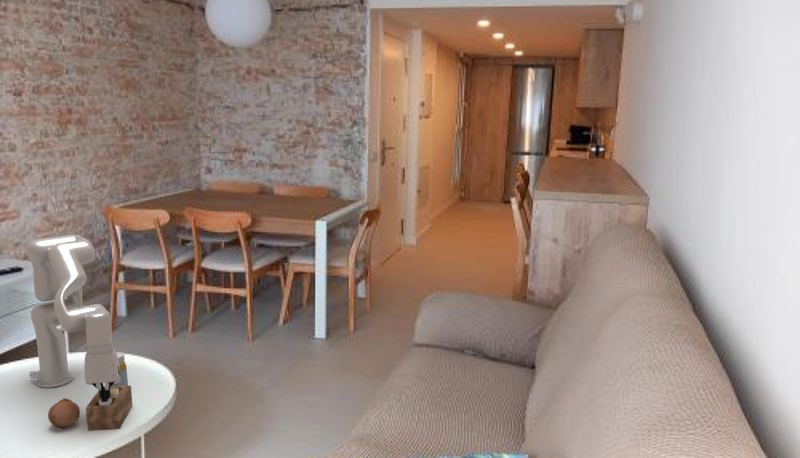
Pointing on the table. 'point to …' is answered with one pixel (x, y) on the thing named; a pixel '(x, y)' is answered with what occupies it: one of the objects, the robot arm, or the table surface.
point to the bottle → (122, 370)
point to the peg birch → (114, 391)
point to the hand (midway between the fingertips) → (105, 399)
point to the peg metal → (106, 402)
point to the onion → (64, 413)
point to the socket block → (109, 410)
